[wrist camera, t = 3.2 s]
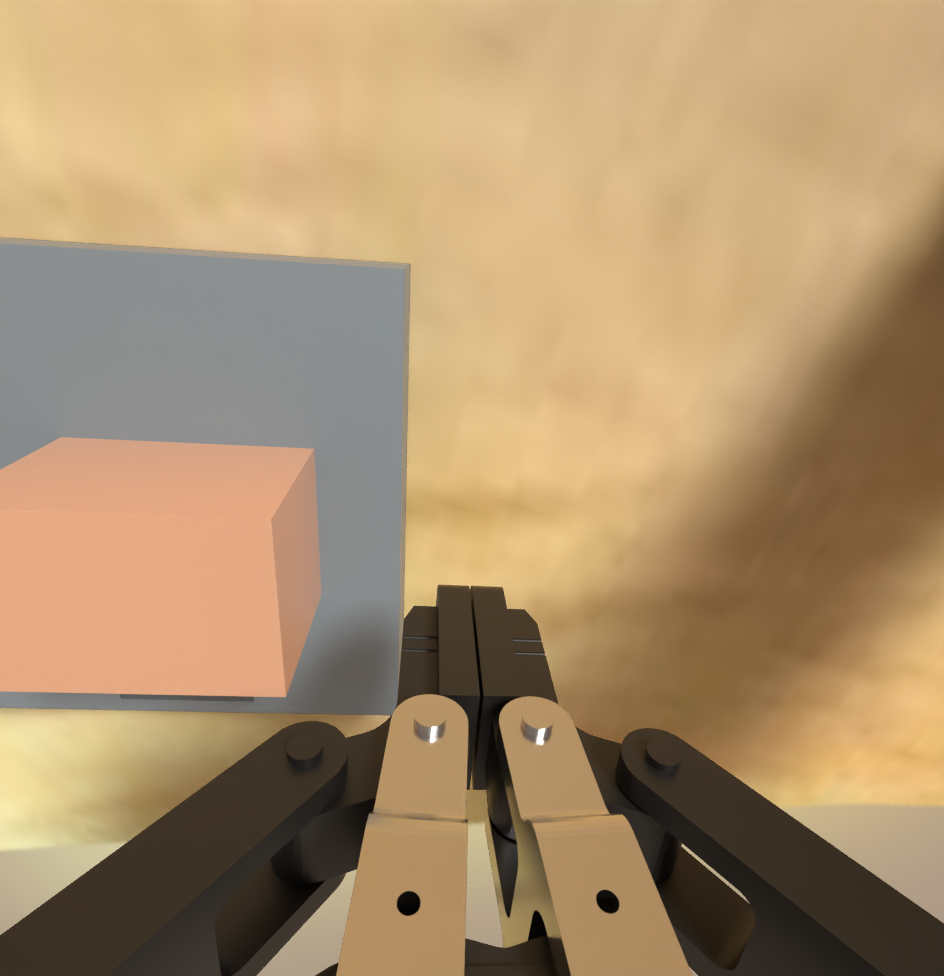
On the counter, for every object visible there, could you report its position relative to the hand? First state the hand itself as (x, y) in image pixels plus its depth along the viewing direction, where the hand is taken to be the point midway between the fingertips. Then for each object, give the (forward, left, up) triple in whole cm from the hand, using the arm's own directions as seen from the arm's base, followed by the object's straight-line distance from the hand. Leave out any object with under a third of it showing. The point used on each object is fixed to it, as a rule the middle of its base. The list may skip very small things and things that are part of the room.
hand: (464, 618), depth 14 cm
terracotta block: (+8, 0, -5) cm, 9 cm away
